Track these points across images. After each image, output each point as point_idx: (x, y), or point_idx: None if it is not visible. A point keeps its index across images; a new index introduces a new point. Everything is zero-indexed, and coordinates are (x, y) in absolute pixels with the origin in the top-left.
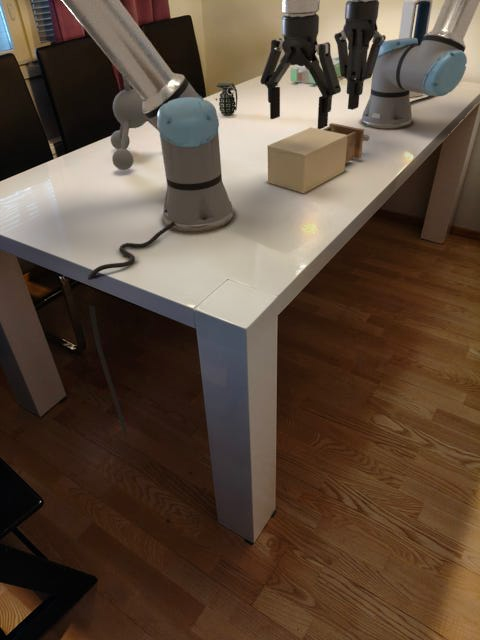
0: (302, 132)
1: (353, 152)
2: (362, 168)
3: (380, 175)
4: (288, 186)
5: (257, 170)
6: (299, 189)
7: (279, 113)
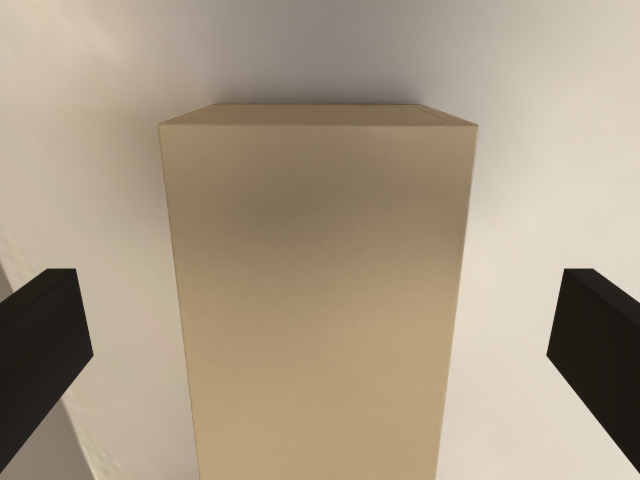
0: (425, 417)
1: None
2: None
3: (112, 408)
4: (300, 105)
5: (549, 190)
6: (236, 105)
7: (560, 367)
